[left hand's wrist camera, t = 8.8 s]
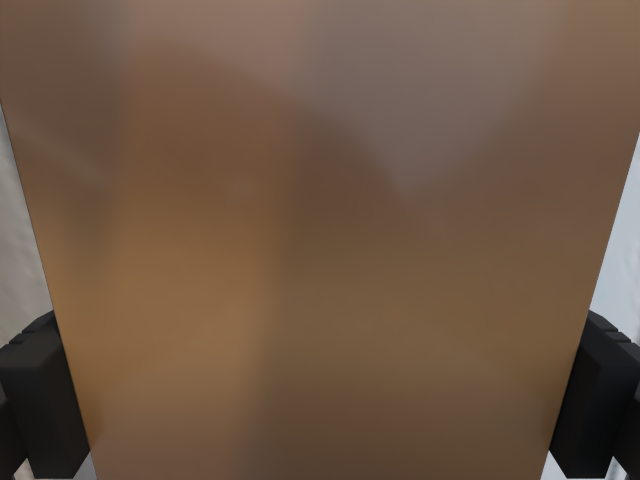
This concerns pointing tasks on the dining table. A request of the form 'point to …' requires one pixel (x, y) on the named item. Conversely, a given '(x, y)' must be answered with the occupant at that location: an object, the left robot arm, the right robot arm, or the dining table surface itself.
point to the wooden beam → (321, 224)
